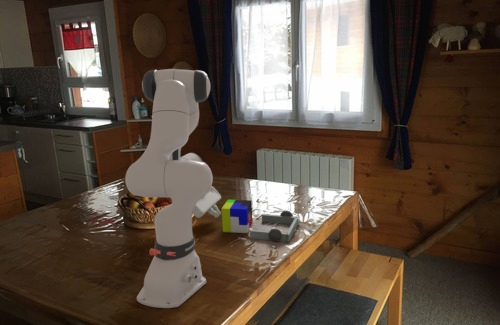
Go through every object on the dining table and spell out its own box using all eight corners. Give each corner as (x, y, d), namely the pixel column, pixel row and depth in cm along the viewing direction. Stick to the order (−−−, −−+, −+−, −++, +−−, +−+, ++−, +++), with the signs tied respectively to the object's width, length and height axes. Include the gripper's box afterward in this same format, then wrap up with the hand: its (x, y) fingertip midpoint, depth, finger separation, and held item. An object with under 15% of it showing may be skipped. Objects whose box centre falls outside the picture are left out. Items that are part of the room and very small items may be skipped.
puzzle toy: (247, 233, 167) (246, 209, 165) (222, 232, 169) (221, 208, 167) (252, 223, 177) (251, 200, 174) (229, 222, 179) (227, 199, 176)
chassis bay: (288, 243, 157) (288, 230, 156) (249, 239, 161) (248, 227, 160) (299, 222, 175) (298, 211, 173) (263, 219, 179) (263, 208, 178)
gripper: (188, 195, 164) (213, 220, 163) (209, 179, 183) (232, 202, 182) (179, 205, 166) (203, 230, 166) (200, 188, 185) (222, 211, 185)
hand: (218, 215), depth 174 cm, fingers closed
